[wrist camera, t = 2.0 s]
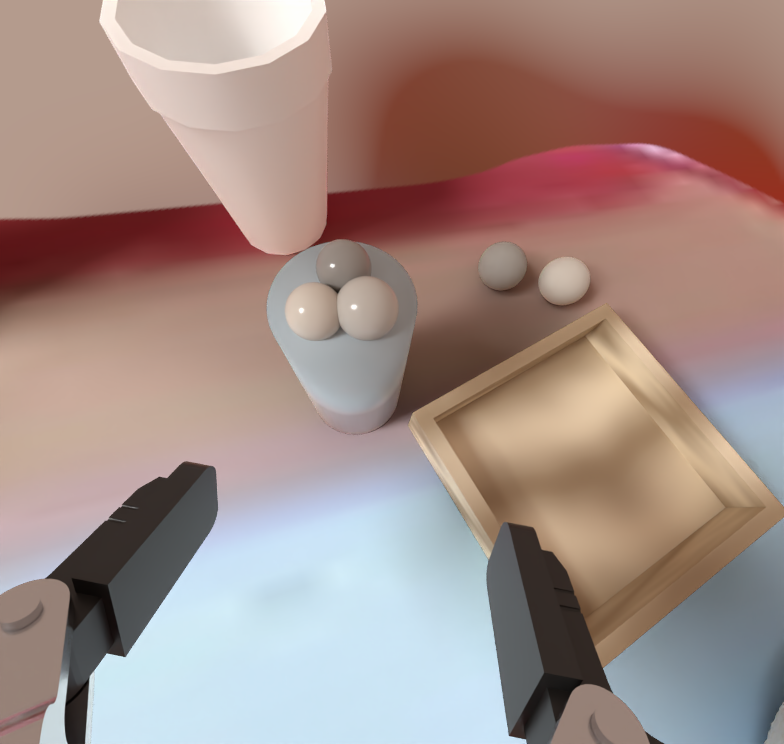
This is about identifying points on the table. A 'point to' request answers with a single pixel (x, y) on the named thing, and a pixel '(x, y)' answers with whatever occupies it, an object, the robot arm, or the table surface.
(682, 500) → the birch tray
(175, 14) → the foam cup
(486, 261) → the pebble
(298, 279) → the pebble jar
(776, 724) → the cereal bowl
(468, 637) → the table surface
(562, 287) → the pebble
